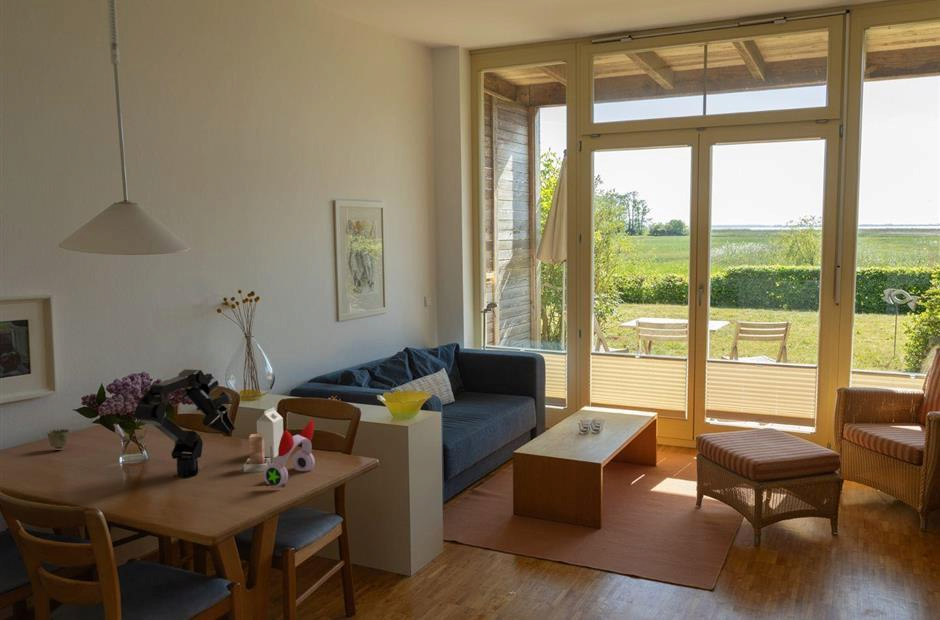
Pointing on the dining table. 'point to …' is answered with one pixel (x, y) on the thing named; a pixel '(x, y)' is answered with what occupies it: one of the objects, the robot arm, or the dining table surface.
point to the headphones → (300, 460)
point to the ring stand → (257, 465)
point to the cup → (58, 438)
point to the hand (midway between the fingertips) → (232, 431)
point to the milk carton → (270, 430)
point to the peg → (256, 449)
